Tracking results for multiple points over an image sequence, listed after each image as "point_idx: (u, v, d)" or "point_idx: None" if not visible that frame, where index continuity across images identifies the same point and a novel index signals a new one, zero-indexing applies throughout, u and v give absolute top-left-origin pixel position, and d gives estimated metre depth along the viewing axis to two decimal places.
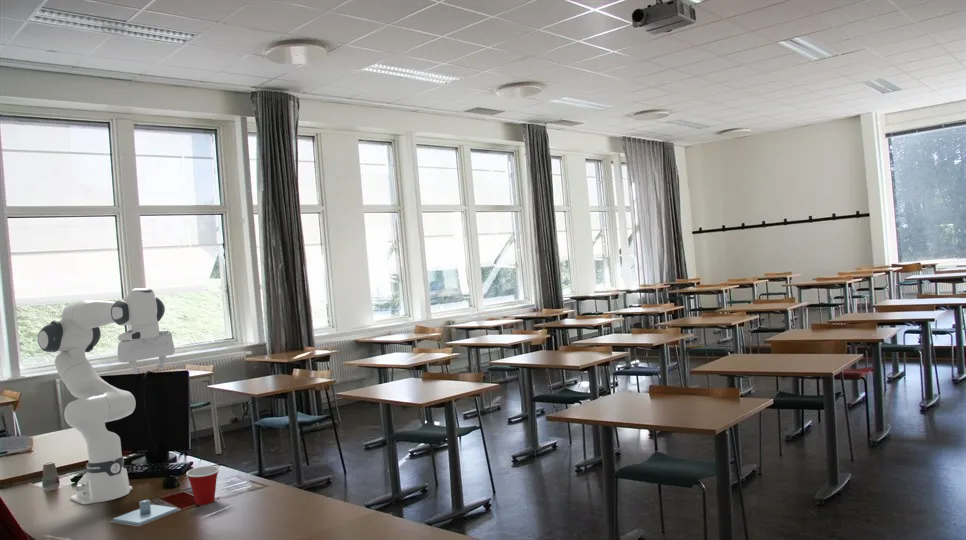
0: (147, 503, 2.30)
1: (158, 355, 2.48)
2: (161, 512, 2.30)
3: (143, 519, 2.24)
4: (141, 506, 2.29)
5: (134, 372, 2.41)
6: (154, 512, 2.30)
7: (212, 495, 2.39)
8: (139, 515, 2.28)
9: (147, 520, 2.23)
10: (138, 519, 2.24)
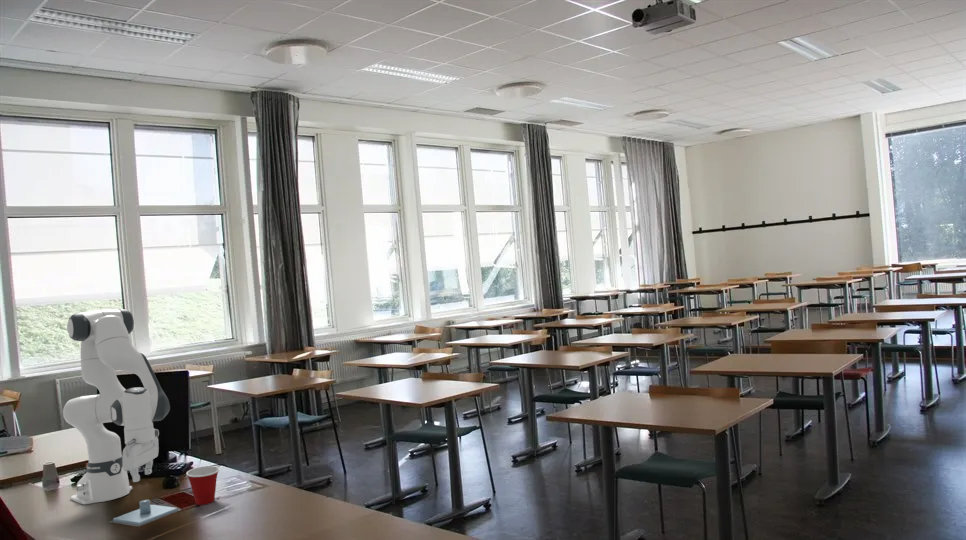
0: (147, 503, 2.30)
1: None
2: (161, 512, 2.30)
3: (143, 519, 2.24)
4: (141, 506, 2.29)
5: None
6: (154, 512, 2.30)
7: (212, 495, 2.39)
8: (139, 515, 2.28)
9: (147, 520, 2.23)
10: (138, 519, 2.24)
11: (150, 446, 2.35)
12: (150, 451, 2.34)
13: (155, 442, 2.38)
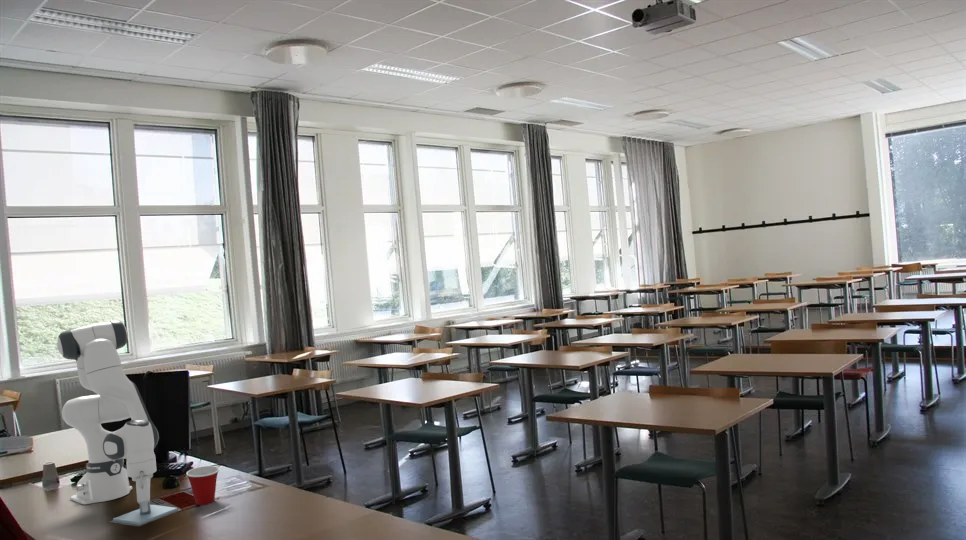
0: None
1: None
2: (161, 512, 2.30)
3: (143, 519, 2.24)
4: None
5: None
6: (154, 512, 2.30)
7: (212, 495, 2.39)
8: (139, 515, 2.28)
9: (147, 520, 2.23)
10: (138, 519, 2.24)
11: None
12: None
13: None
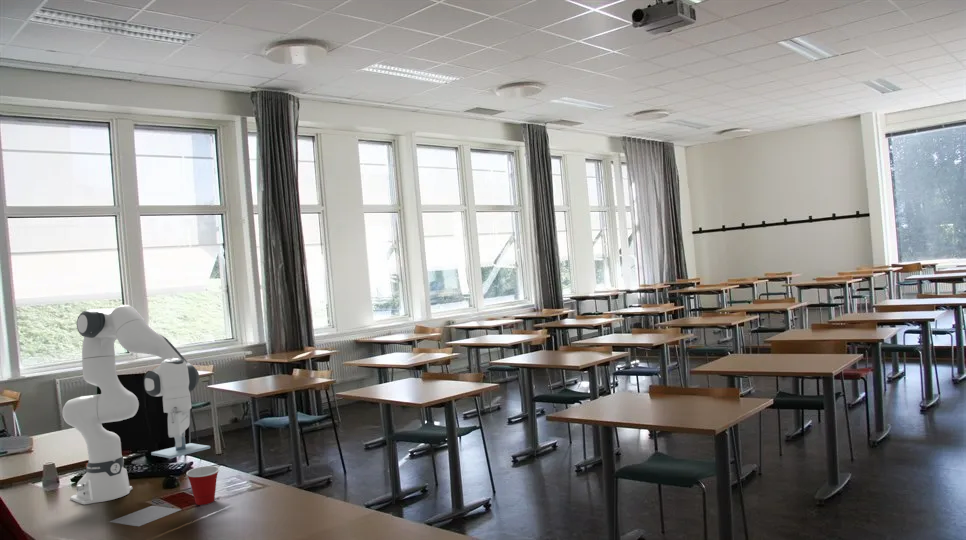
0: None
1: None
2: (194, 449, 2.34)
3: (175, 453, 2.29)
4: None
5: None
6: (188, 448, 2.35)
7: (212, 495, 2.39)
8: (174, 450, 2.35)
9: (178, 454, 2.29)
10: (171, 453, 2.30)
11: (185, 415, 2.41)
12: (186, 420, 2.40)
13: (188, 412, 2.44)
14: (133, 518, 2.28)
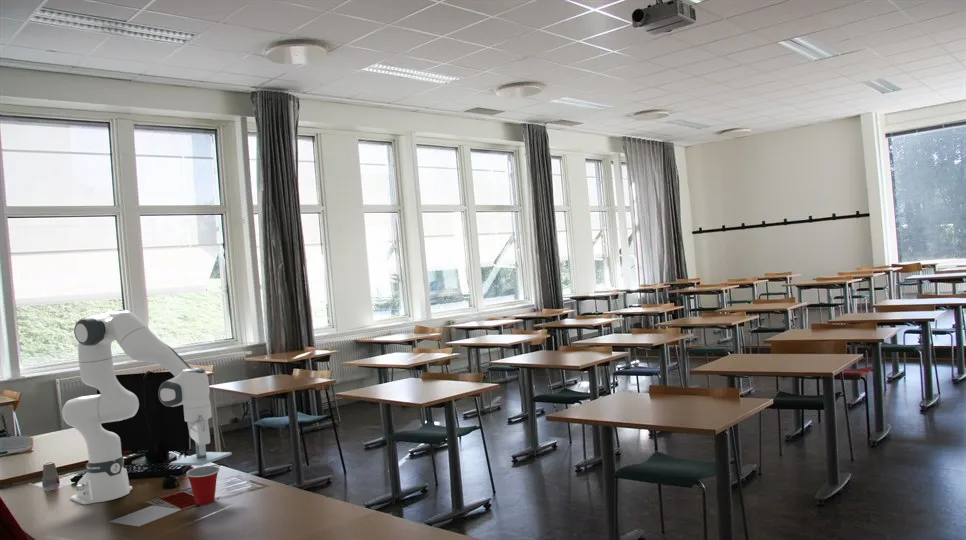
0: None
1: (196, 441, 2.36)
2: (217, 456, 2.39)
3: (203, 461, 2.33)
4: (198, 450, 2.38)
5: None
6: (210, 456, 2.40)
7: (212, 495, 2.39)
8: (196, 459, 2.37)
9: (207, 462, 2.33)
10: (198, 461, 2.33)
11: None
12: None
13: None
14: (133, 518, 2.28)
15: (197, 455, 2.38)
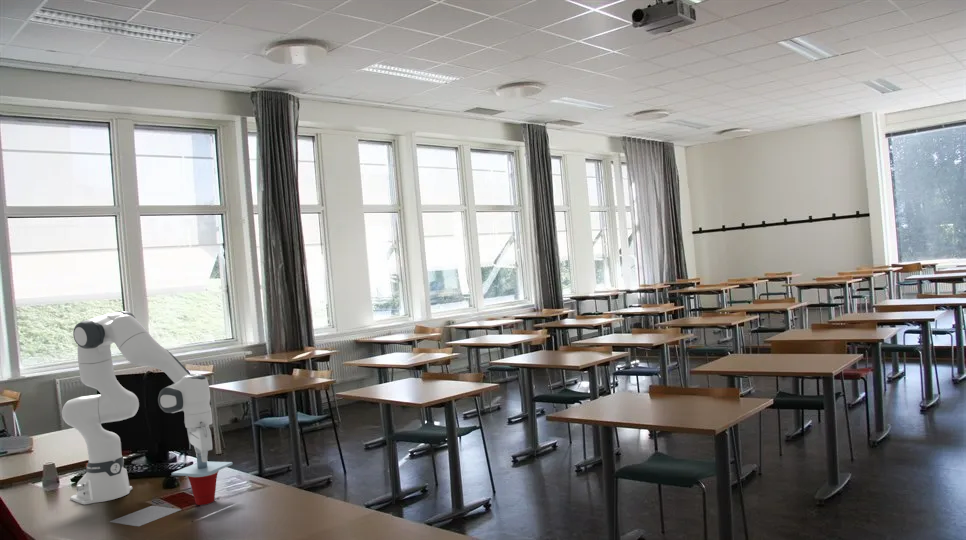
0: None
1: (197, 447, 2.36)
2: (219, 466, 2.40)
3: (205, 471, 2.33)
4: (199, 460, 2.38)
5: None
6: (211, 466, 2.40)
7: (212, 495, 2.39)
8: (197, 469, 2.38)
9: (209, 472, 2.33)
10: (200, 472, 2.34)
11: None
12: None
13: None
14: (133, 518, 2.28)
15: (198, 465, 2.38)
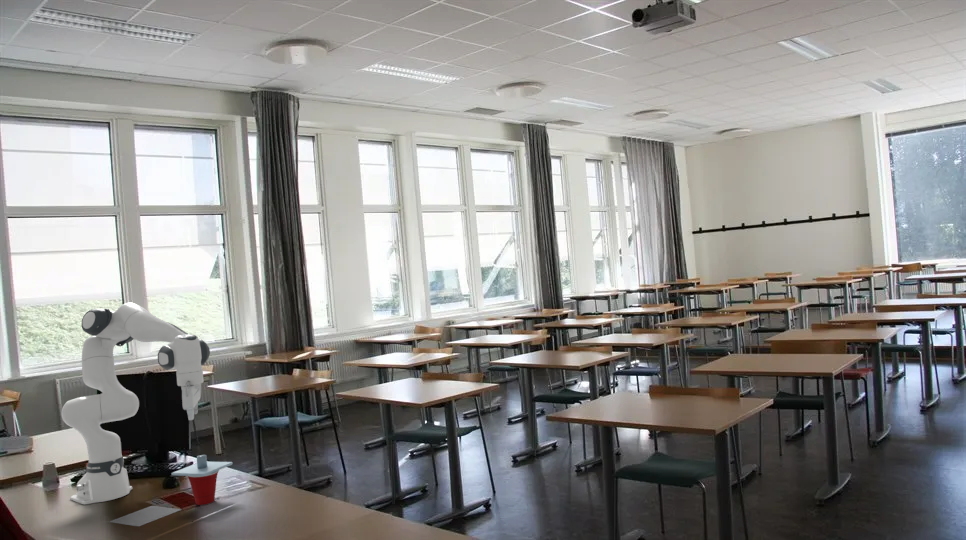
0: (205, 457, 2.39)
1: None
2: (219, 466, 2.40)
3: (205, 471, 2.33)
4: (199, 460, 2.38)
5: None
6: (211, 466, 2.40)
7: (212, 495, 2.39)
8: (197, 469, 2.38)
9: (209, 472, 2.33)
10: (200, 472, 2.34)
11: (197, 388, 2.54)
12: (198, 393, 2.53)
13: None
14: (133, 518, 2.28)
15: (198, 465, 2.38)
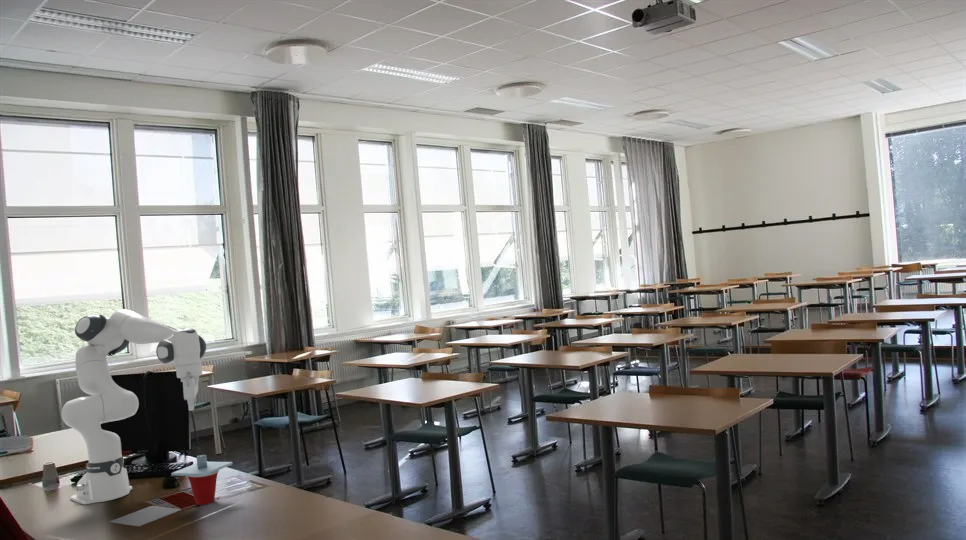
0: (205, 457, 2.39)
1: None
2: (219, 466, 2.40)
3: (205, 471, 2.34)
4: (199, 460, 2.38)
5: None
6: (211, 466, 2.40)
7: (212, 495, 2.39)
8: (197, 469, 2.38)
9: (209, 472, 2.33)
10: (200, 472, 2.34)
11: (195, 381, 2.61)
12: (196, 386, 2.60)
13: None
14: (133, 518, 2.28)
15: (198, 465, 2.38)
